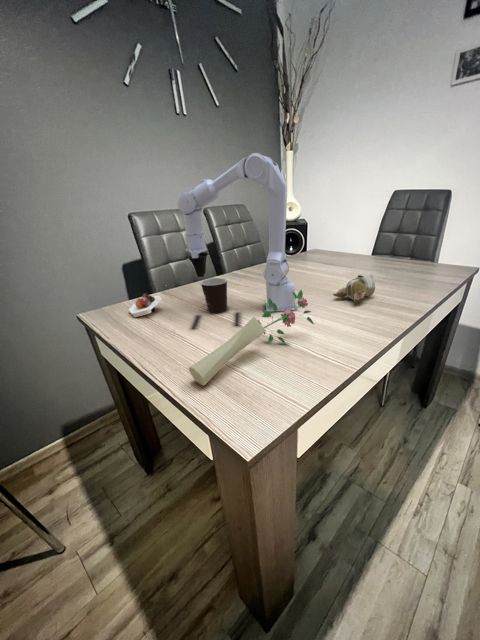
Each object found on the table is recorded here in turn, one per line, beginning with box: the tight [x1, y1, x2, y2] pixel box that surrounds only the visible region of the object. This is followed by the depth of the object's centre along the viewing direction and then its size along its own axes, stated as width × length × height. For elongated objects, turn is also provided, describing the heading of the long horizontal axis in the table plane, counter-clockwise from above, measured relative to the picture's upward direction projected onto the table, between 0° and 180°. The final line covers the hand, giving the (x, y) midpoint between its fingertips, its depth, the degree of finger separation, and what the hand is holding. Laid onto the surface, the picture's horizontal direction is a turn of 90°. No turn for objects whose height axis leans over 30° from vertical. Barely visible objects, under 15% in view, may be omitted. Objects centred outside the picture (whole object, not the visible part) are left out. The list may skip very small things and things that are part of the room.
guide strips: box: [191, 312, 240, 330], centre depth 87 cm, size 14×10×1 cm
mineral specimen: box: [128, 292, 163, 318], centre depth 95 cm, size 12×12×7 cm
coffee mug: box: [200, 277, 228, 314], centre depth 94 cm, size 12×9×10 cm
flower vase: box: [188, 289, 315, 386], centre depth 66 cm, size 12×12×35 cm
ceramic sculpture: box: [332, 274, 376, 303], centre depth 96 cm, size 11×9×15 cm
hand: (201, 275), depth 98 cm, fingers open, 3 cm apart
